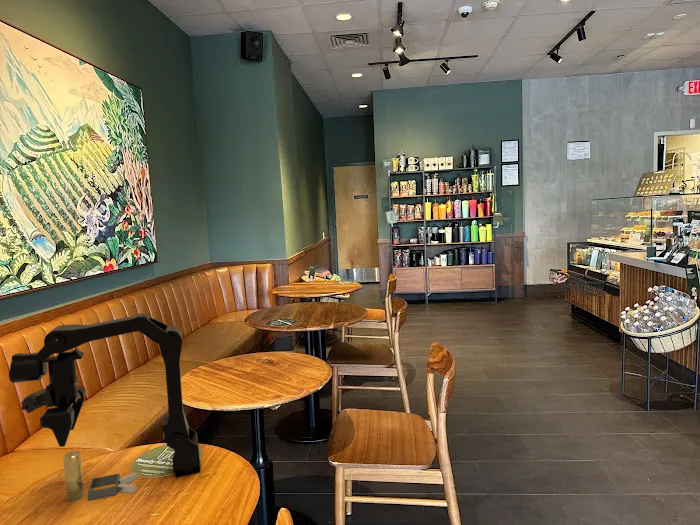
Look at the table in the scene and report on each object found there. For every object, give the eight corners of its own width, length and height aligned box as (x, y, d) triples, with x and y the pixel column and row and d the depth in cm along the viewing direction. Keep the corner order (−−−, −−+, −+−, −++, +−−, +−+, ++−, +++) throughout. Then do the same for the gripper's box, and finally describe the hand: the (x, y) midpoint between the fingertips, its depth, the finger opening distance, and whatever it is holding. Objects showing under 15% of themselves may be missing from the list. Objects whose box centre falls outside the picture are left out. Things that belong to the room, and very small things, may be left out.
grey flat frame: (137, 476, 122) (137, 468, 122) (135, 492, 115) (134, 484, 114) (93, 485, 118) (92, 477, 118) (87, 502, 111) (86, 494, 111)
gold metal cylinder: (85, 490, 116) (81, 449, 115) (82, 499, 112) (78, 456, 111) (68, 494, 115) (64, 452, 113) (65, 502, 111) (61, 460, 110)
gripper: (35, 369, 118) (40, 427, 120) (10, 395, 101) (16, 462, 102) (84, 364, 122) (88, 420, 124) (68, 388, 105) (72, 453, 106)
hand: (66, 437), depth 114 cm, fingers open, 9 cm apart
